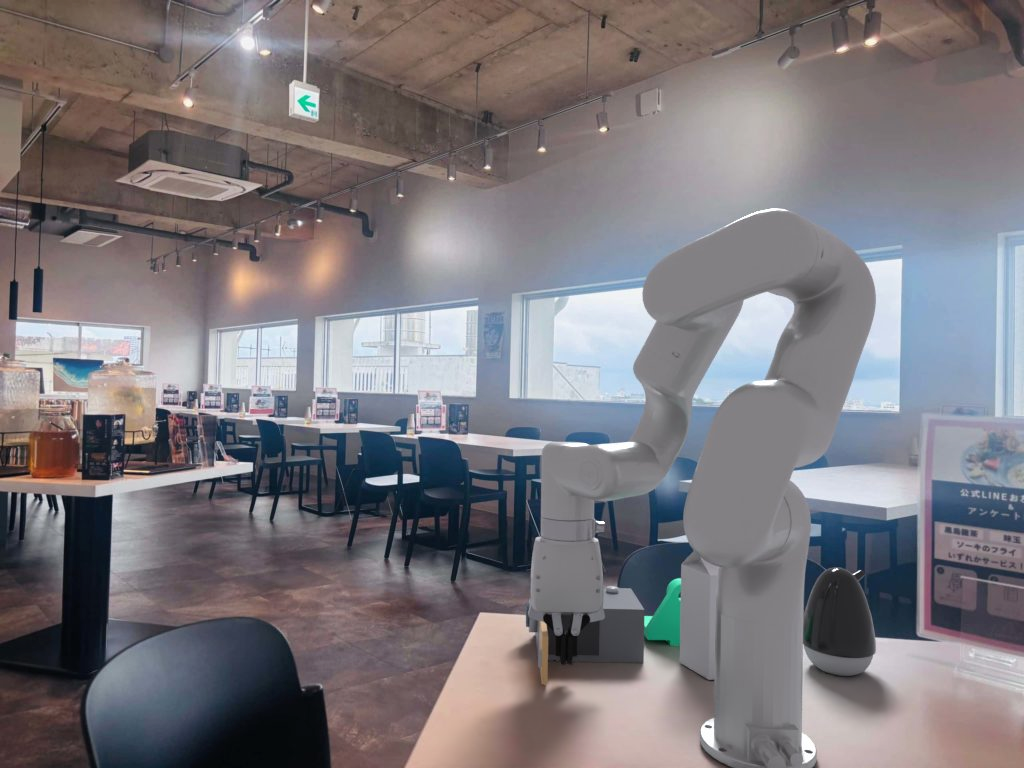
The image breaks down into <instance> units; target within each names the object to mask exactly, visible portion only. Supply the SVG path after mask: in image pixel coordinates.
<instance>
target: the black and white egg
mask: <svg viewBox="0 0 1024 768" xmlns="http://www.w3.org/2000/svg"><path fill="white" fill-rule="evenodd" d="M864 576H865V571H863V570H862V569H858V570H857V571H855V572H854V573H853V572H851V571H849V570H847V569H846V568H843V567H836V566H835V567H830V568H827V569H826V570H824V571H823V572H822V573H820V575H819V576H818V577H817V579H816V580H815V583H814V585H813V587H812V589H811V592H810V594H809V597H808V600H807V603H806V606H805V609H804V618H803V650H804V652H805V654H806V656H807V659H808V660H809V661H810V663H812V664H813V665H814V666H815V667H816V668H818V669H820V671H823V672H825V673H827V674H830V675H835V676H840V677H852V676H856V675H860V674H861V673H863V672H865V671H866V670H867V669H868V668H869V666H870V665H871V664H872V661H873V658H874V655H875V654H876V653H877V643H876V642H877V640H876V634H875V628H874V623H873V617H872V613H871V610H870V609H871V608H870V607H869V604H868V603H869V602H868V600H867V597H866V595H865V592H864V589H863V588H862V585H861V583H860V581H861V579H863V578H864Z"/></svg>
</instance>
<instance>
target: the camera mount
mask: <svg viewBox="0 0 1024 768" xmlns="http://www.w3.org/2000/svg"><path fill="white" fill-rule="evenodd" d="M680 594H681V577H678V578H675V579H673V580H671V581H670V582H669V584H667V587H666V595H665V597H664V598H663V599H662V601H661V603H660V605H659V606H658V607H657V609H656V611H655V612H654V614H653V615H644V638H646V639H647V641H666V642H667V644H668V645H669V646H670V647H680V609H681V597H680V596H679V595H680Z"/></svg>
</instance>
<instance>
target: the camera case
mask: <svg viewBox="0 0 1024 768" xmlns="http://www.w3.org/2000/svg"><path fill="white" fill-rule="evenodd" d="M528 599H529V600H528V603H525V627H526V628H528V633H534V636H535V637H536V638H535V637H534V638H535V646H536V655H537V656H538V647H539V621H538V620H534V619H531V618H529V616H528V611H529V607H530V604H531V599H530V598H528ZM603 610H604V614H605V618H604V619H603V620H599V621H594V622H589V623H588V624H587V625H586V626H585V627H584V628H583V629H582V630H581V631H580V633H579V635H577V657H572V662H583V663H585V662H586V663H589V662H590V663H591V662H592V663H631V664H632V663H633V664H635V663H637V664H638V663H640V664H644V663H645V662H644V661H645V658H644V656H645V652H644V650H645V635H644V616H645V608H644V607H643V605H642V603H641V602H640V600H639V599H638V597H637V595H636V594H635V593H634V591H633V590H632V588H627V587H626V588H625V587H619V586H614V585H608V586H606V587H603ZM560 614H561V622H562V626H563V627H564V630H565V633H566V631H567V629H568V626H569V625H570V619H571V613H560ZM546 625H547V624H546ZM547 631H548V660H549V661H548V662H554V661H553V660H556V661H555V662H560V656H555V633H554V631H553V630H552V629H551V628H550V627H549V626H548V625H547Z"/></svg>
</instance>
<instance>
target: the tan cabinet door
mask: <svg viewBox="0 0 1024 768" xmlns="http://www.w3.org/2000/svg"><path fill="white" fill-rule="evenodd" d="M548 665H549V661H548V631H547V625H546V623H545V622H542V621H539V647H538V657H537V666H538V668H539V673H540V682H541V685H548V674H549V673H548V669H549V668H548Z"/></svg>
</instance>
